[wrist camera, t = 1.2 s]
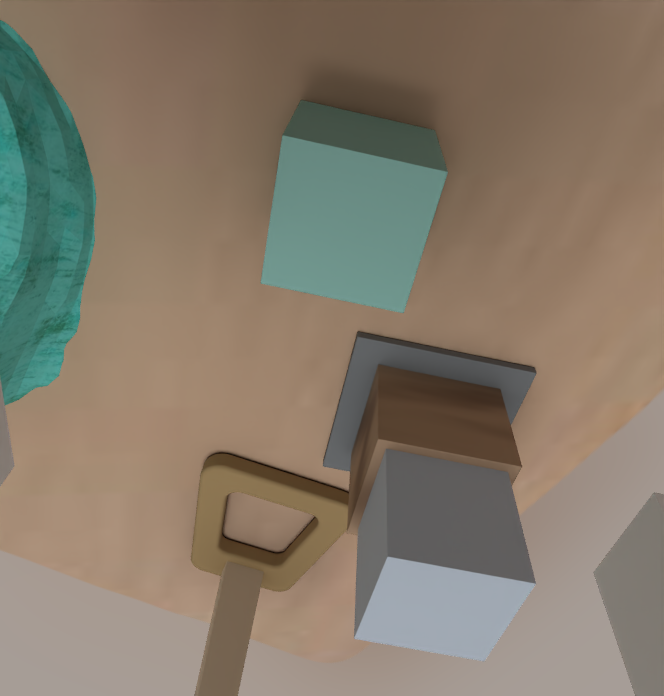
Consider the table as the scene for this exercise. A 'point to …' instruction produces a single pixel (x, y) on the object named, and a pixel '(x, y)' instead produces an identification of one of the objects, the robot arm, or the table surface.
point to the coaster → (417, 359)
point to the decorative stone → (39, 221)
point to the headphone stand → (253, 556)
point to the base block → (428, 428)
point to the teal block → (352, 206)
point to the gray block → (439, 557)
